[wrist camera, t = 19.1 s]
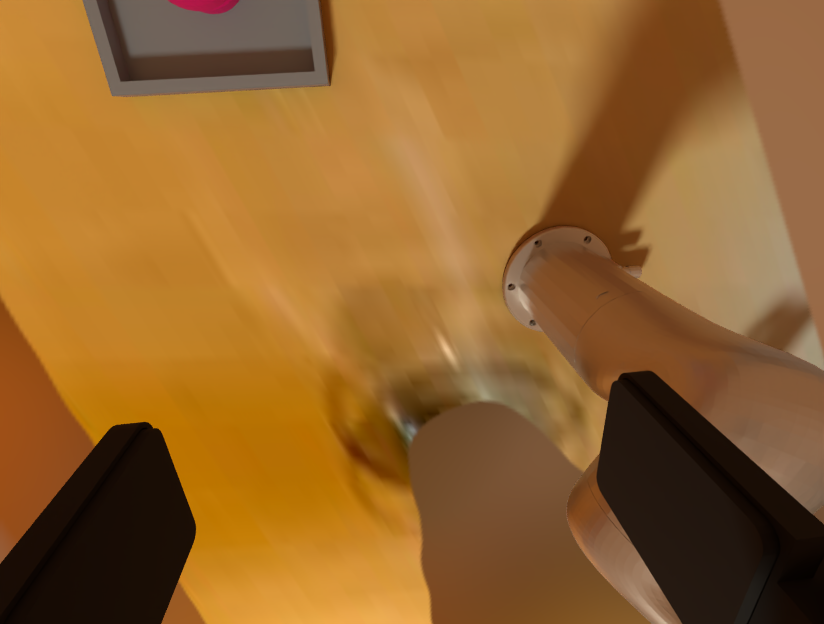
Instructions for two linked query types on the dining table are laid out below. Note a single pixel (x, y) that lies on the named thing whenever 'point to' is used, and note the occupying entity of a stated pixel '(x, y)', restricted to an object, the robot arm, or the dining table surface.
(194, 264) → the dining table surface
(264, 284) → the dining table surface
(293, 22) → the tray
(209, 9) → the pepper mill
